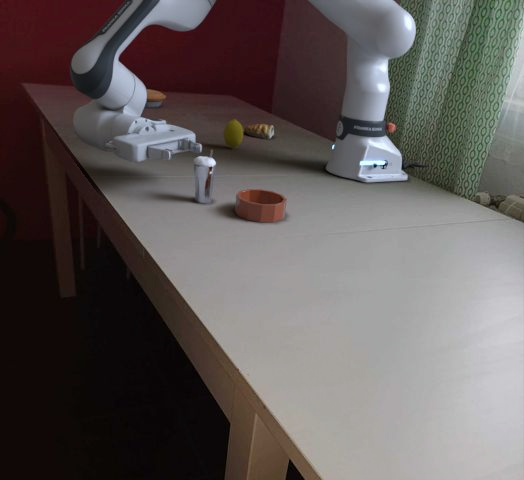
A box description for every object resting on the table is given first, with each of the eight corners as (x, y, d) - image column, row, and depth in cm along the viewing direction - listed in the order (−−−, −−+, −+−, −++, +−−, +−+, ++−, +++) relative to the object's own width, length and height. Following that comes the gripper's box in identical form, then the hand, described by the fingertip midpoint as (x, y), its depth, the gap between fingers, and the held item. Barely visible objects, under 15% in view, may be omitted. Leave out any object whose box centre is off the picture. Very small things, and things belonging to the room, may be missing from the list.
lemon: (239, 152, 153) (241, 122, 149) (220, 149, 154) (222, 119, 150) (243, 148, 158) (246, 119, 154) (225, 145, 158) (227, 116, 154)
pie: (116, 105, 192) (115, 89, 190) (131, 99, 205) (131, 84, 203) (157, 111, 191) (157, 95, 188) (170, 104, 204) (171, 90, 201)
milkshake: (219, 199, 116) (222, 151, 110) (207, 206, 112) (209, 156, 106) (201, 195, 117) (202, 147, 112) (188, 201, 113) (189, 152, 107)
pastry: (242, 135, 172) (243, 122, 170) (246, 131, 178) (247, 119, 176) (270, 139, 171) (272, 127, 169) (274, 136, 177) (275, 123, 175)
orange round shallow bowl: (275, 205, 117) (277, 189, 115) (290, 222, 109) (292, 205, 107) (230, 205, 114) (231, 188, 112) (243, 222, 106) (244, 205, 104)
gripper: (98, 128, 107) (152, 142, 102) (165, 118, 123) (215, 130, 117) (100, 160, 111) (152, 176, 105) (165, 147, 126) (213, 160, 121)
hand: (185, 152), depth 111 cm, fingers open, 8 cm apart
